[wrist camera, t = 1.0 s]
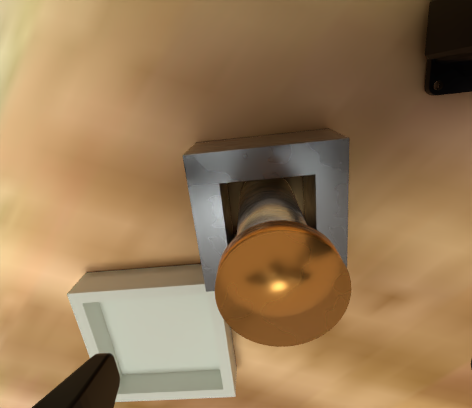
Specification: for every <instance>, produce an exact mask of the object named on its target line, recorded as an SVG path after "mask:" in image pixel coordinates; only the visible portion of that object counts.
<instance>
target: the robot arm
mask: <svg viewBox="0 0 472 408" xmlns="http://www.w3.org/2000/svg"><path fill="white" fill-rule="evenodd" d="M425 56H426V57H427V58H428V59H427V69H426V80H425V91H426V92H427V93H428V94H429V95H444V94H453V93H462V92H471V91H472V0H432V1H431V2H430V6H429V16H428V27H427V38H426V48H425ZM436 81H438V82H439V87H438V88H437V89H436V90H435V89H434V83H435V82H436ZM471 368H472V360H471ZM119 385H120V374H119V371H118V368H117V365H116V362H115V358H114V356H113V355H112V354H111V353H98V354H95V355H94V356H92V357H91V358H90V359H89V360H88V361H86V362H85V363H84V364H83V365H82V366H80V367H79V368H78V369H77V370H76V371H74V372H73V373H72V374H71V375H70V376H69V377H67V378H66V379H65V380H64V381H63V382H61V383H60V384H59V385H58V386H57V387H56V388H54V389H53V390H52V391H51V392H50V393H48V394H47V395H46V396H45V397H44V398H43V399H41V400H40V401H39V402H38V403H37V404H35V405H34V406H33V407H32V408H114V404H115V400H116V396H117V393H118V389H119Z"/></svg>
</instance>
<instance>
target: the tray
mask: <svg viewBox="0 0 472 408" xmlns="http://www.w3.org/2000/svg"><path fill="white" fill-rule="evenodd" d="M67 295H68V298H69V301H70V304H71V306H72V309H73V312H74V315H75V318H76V320H77V323H78V326H79V329H80V331H81V334H82V337H83V340H84V343H85V345H86V348H87V351H88V354H89V357H90V358H91V357H92V356H94V355H95V354H98V353H111V354H112V355H113V356H114V358H115V362H116V365H117V368H118V371H119V374H120V385H119V389H118V393H117V396H116V400H115V402H127V401H150V400H173V399H195V398H218V397H235V396H236V371H237V367H236V360H235V353H234V346H233V339H232V333H231V327H230V326H229V325H228V324H227V323H226V321H225V320H224V319H223V317H222V316H221V314H220V312H219V310H218V307H217V304H216V300H215V291H209V292H206V289H205V283H204V277H203V271H202V266H201V264H192V265H179V266H165V267H152V268H139V269H126V270H113V271H100V272H87V273H85V274H84V275H83V277H82V278H81V279H80V280H79V281H78V282H77V283H76V284H75V286H74V287H73V288H72V289H71V290H70V291H69V292H68V293H67Z"/></svg>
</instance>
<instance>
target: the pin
mask: <svg viewBox="0 0 472 408" xmlns="http://www.w3.org/2000/svg"><path fill="white" fill-rule="evenodd" d="M350 296H351V281H350V276H349V273H348V270H347V268H346V266H345V264H344V262H343V260H342V259H341V257H340V255H339V253H338V252H337V250H336V248H335V246H334V245H333V244H332V243H331V241H330V240H329V239H328V238H327V237H326V236H325V235H324V234H322V233H321V232H319V231H318V230H316V229H314V228H312V227H311V226H308V225H307V224H306V221H305V219H304V217H303V215H302V212H301V210H300V208H299V206H298V203H297V201H296V199H295V197H294V194H293V192H292V190H291V188H290V186H289V184H288V182H287V181H286V180H285V179H284V178H271V179H261V180H251V181H246V182H245V183H244V185H243V187H242V189H241V192H240V201H239V213H238V226H237V236H236V237H235V238H234V239H233V240H232V241H231V242H230V243H229V245H228V246H227V247H226V249H225V250H224V252H223V254H222V256H221V259H220V261H219V266H218V271H217V276H216V282H215V300H216V304H217V307H218V310H219V312H220V314H221V316H222V317H223V319H224V320H225V321H226V323H227V324H228V325H229V326H230V327H231V328H232V329H233V330H234V331H236V332H237V333H238V334H240V335H241V336H243V337H245V338H246V339H249V340H251V341H253V342H256V343H259V344H263V345H268V346H277V347H279V346H294V345H299V344H303V343H306V342H310V341H312V340H314V339H316V338H318V337H320V336H322V335H324V334H325V333H326V332H328V331H329V330H330V329H332V328H333V327H334V326H335V325H336V324H337V323H338V321H339V320H340V319H341V318H342V316H343V314H344V313H345V311H346V309H347V307H348V304H349V300H350Z"/></svg>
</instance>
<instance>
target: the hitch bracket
mask: <svg viewBox="0 0 472 408" xmlns="http://www.w3.org/2000/svg"><path fill="white" fill-rule="evenodd" d="M183 161H184V166H185V172H186V178H187V184H188V190H189V196H190V201H191V207H192V213H193V219H194V225H195V231H196V236H197V242H198V248H199V254H200V260H201V266H202V271H203V277H204V283H205V289H206V292H209V291H215V282H216V276H217V271H218V266H219V261H220V259H221V256H222V254H223V252H224V250H225V249H226V247H227V246H228V245H229V243H230V242H231V241H232V240H233V239H234V238H235V237H236V236H237V234H233V227H232V219H231V211H230V203H229V195H228V187H227V183H230V182H240V181H251V180H261V179H271V178H282V177H292V176H303V201H304V219H305V221H306V224H307V225H308V226H311V227H312V228H314V229H316V230H318V231H319V232H321V233H322V234H324V235H325V236H326V237H327V238H328V239H329V240H330V241H331V243H332V244H333V245H334V246H335V248H336V250H337V252H338V253H339V255H340V257H341V259H342V260H343V262H344V264H345V266H346V268H347V237H348V182H349V138H348V137H346V136H344V135H341V134H339V133H337V132H335V131H333V130H330V129H319V130H310V131H300V132H291V133H281V134H272V135H262V136H253V137H244V138H234V139H225V140H215V141H206V142H197V143H195V144H194V145H193V146H192V147H191V148H190V149H189V150H188V151H187V152H186V153H185V154H183Z"/></svg>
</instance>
